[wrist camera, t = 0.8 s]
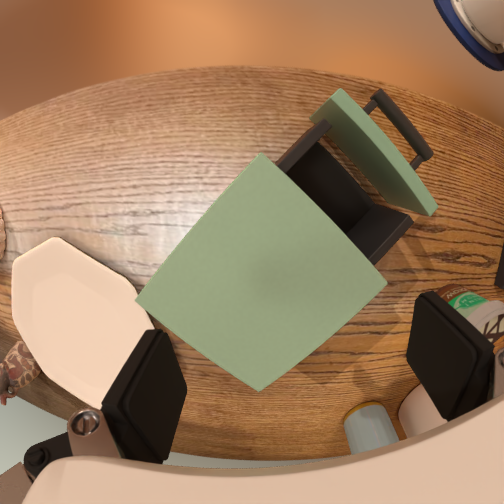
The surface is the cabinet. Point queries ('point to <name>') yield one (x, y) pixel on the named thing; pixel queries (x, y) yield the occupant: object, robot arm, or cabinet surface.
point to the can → (419, 413)
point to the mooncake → (2, 236)
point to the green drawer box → (261, 278)
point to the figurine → (17, 370)
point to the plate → (76, 317)
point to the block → (500, 272)
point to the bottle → (368, 427)
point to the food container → (476, 310)
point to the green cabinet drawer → (369, 163)
